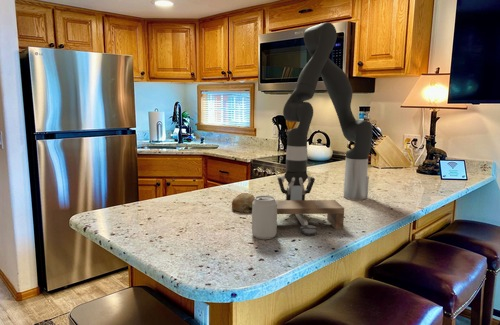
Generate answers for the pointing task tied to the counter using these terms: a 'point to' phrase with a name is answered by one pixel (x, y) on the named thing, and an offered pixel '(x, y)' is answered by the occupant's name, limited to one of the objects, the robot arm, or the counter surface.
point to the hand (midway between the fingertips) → (295, 204)
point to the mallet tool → (297, 195)
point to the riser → (314, 209)
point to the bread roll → (243, 202)
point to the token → (308, 230)
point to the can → (264, 217)
